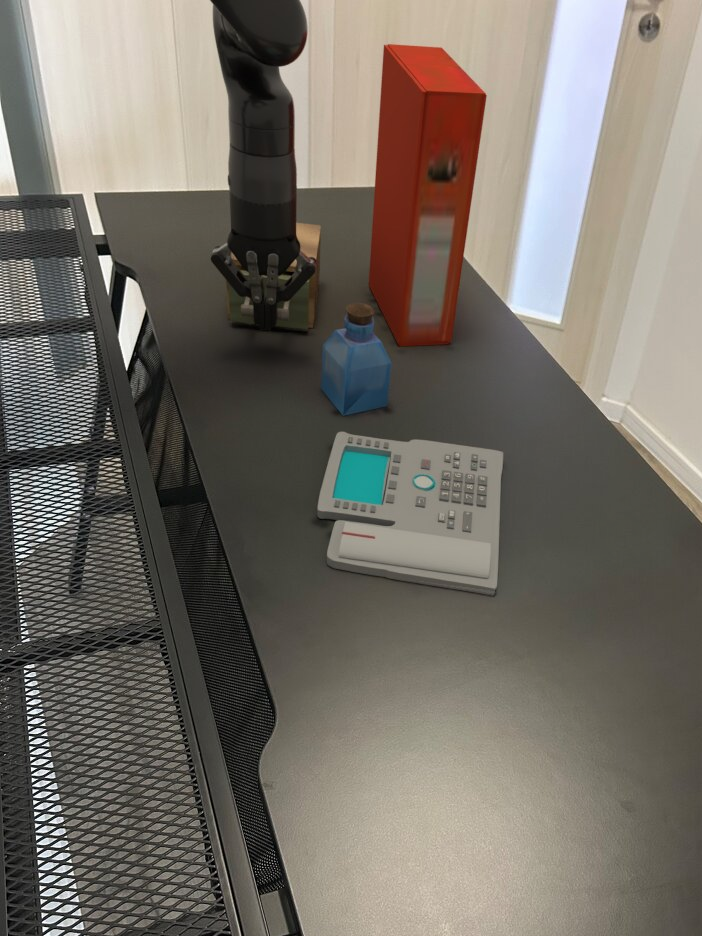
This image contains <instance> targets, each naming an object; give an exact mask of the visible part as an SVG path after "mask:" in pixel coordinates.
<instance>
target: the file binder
mask: <svg viewBox="0 0 702 936" xmlns="http://www.w3.org/2000/svg"><path fill="white" fill-rule="evenodd" d="M382 51H383V52H382V67H381V68H382V69H381V84H380V98H379V99H380V101H379V116H378V129H377V145H376V162H375V179H374V192H373V193H374V194H373V209H372V210H373V211H372V223H371V225H372V226H371V241H370V255H369V256H370V257H369V273H368V286H369V288H370V291H371V293H372V295H373V297H374V299H375V300H376V303H377V305H378V306H379V309H380V311H381V313H382V315H383V317H384V319H385V321H386V323H387V325H388V327H389V329H390V331H391V333H392V335H393V337H394V339H395V341H396V344H397V345H398V347H419V346H437V345H438V346H439V345H440V346H441V345H448V344H451V343H452V340H453V339H452V338H453V332H454V325H455V319H456V311H457V304H458V298H459V290H460V284H461V278H462V277H461V276H462V270H463V264H464V263H463V262H464V255H465V249H466V241H467V236H468V230H469V229H468V228H469V220H470V214H471V207H472V200H473V194H474V186H475V179H476V174H477V173H476V172H477V165H478V159H479V153H480V152H479V151H480V146H481V145H480V144H481V138H482V130H483V125H484V117H485V112H486V111H485V110H486V103H487V97H488V96H487V93H486V92H485V90H483V89H482V88H481V87H480V86H479V84H478V83H476V82H475V80H473V78H472V77H471V76H470V75H469V74H468V73H467V72H466V71H465V70H464V69H463V68H462V67H461V66H460V65H459V64H458V63H457V62H456V61H455V60H454V59H453V58H452V57H451V56H450V54H449V53H448V52H446V50H445V49H444V48H443V47H439V46H425V45H423V46H422V45H409V44H393V43H387V44H383V50H382Z"/></svg>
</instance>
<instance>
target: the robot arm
mask: <svg viewBox="0 0 702 936" xmlns="http://www.w3.org/2000/svg"><path fill="white" fill-rule="evenodd" d="M209 1H210V3H211V4H212V28H213V34H214V41H215V45H216V51H217V56H218V60H219V64H220V71H221V75H222V79H223V82H224V86H225V90H226V94H227V95H226V96H227V101H228V102H227V105H228V109H227V114H228V117H227V118H228V138H229V139H228V140H229V141H228V142H229V147H228V148H229V150H228V163H227V166H228V167H227V170H228V173H227V185H228V194H229V214H230V215H229V217H230V232H229V234H228V237H227V239H226V243H224V244H223V245H221V246H220V245H216V246H215V247H214V248H213V250H212V252H211V256H210V262H211V263H212V264H213V266H214V267H215V268H216V269H217V270H218V272H219V273H220V274H221V275H222V277H223V278H224V279H225V281H226V280H227V281H228V283H229V284H230V285H231V286H232V288H233V289H234V290H235V291H236V292H237V294H238V295H239V296H241V297H245V296H246V297H249V298H250V299H251V300H252V301H253V313H254V323H255V324H254V325H255V326H258V329H259V331H270V332H271V331H272V328H275V327H276V326H275V325H276V323H277V318H278V315H277V303H278V302H279V301H285V302H287V301H289V300H290V299H291V298H292V297H293V296H294V295H295V294H296V293H297V292H298V291H299V289H300V288H301V287H302V286H303V285H304V284H305V283H306V282H307V281H308V280H309V279H310V278H311V277H312V276H313V275H314V273H315V269H316V263H317V261H316V259H315V258H314V257H308V256H306V255H305V254H304V253H303V252H302V251H301V250H300V242H299V241H298V239H297V235H296V223H297V200H298V199H297V198H298V197H297V194H298V193H297V191H298V185H297V183H298V169H297V159H296V149H295V148H296V146H295V145H296V110H295V102H294V98H293V95H292V94H291V92H290V90H289V88H288V87H287V85H286V84H285V83H284V81H283V79H282V76H281V72H280V68H281V67H286V66H289V65H290V64H292V63H294V62H295V61H297V60H298V59H299V57H301V56H302V53H303V51H304V50H305V47H306V45H307V40H308V32H309V31H308V28H309V27H308V20H307V19H308V18H307V15H306V11H305V9H304V6H303V3H302V2H301V0H209ZM232 253H233V254H234V256H235V257H236V259H237V260H238V261H239V263H240V264H241V265H242V267H243V268H244V269H245V270H246V271H247V272H248V273H249V281H248V280H247V278H246V277H245V276H244V275H243V273H242V272H241V271H240V270H239V268H238V267H237V266H236V264H235V263H234V262H233V259H234V257H233V255H232ZM295 259H296V261H297V263H296V266H295V270H296V272H295V273H294V274H293V275H292V276H291V277H290V278H289V279H288V280H287V281H286V282H285V284H284V285H283V286H280V287H278V282H279V276H280V275H282V274H284V272H285V271H286V270H287V269H288V268H289V266H290V265H291V264H292V263H293V262H294V261H295ZM263 275H265V276H267V291H266V296H264V284H263Z"/></svg>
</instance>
